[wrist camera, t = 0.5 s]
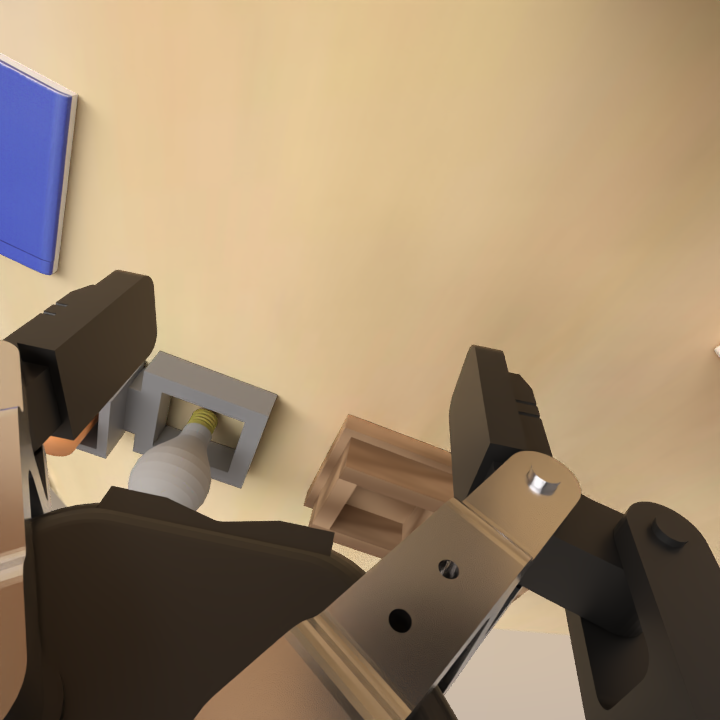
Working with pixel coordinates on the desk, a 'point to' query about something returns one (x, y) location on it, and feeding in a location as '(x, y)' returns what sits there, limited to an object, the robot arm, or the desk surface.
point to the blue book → (33, 164)
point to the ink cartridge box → (717, 350)
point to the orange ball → (67, 442)
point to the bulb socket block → (192, 384)
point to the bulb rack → (378, 487)
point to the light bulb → (178, 464)
